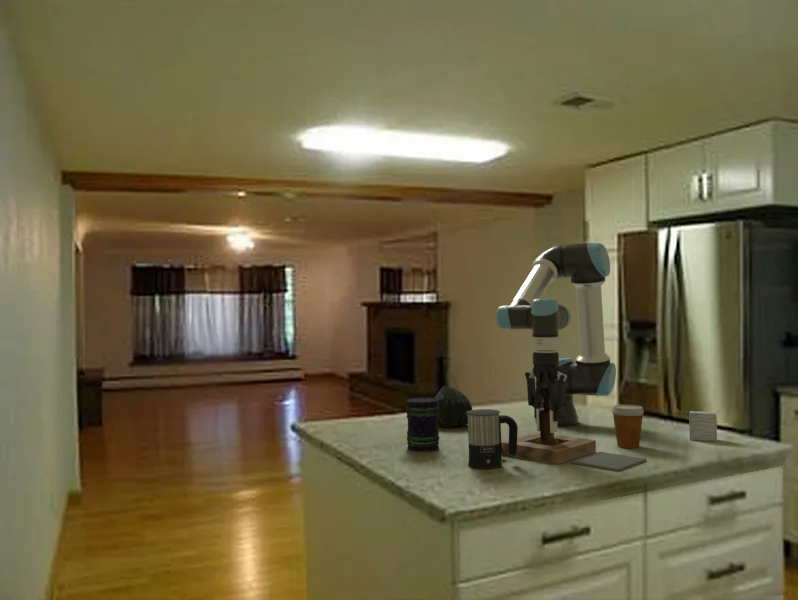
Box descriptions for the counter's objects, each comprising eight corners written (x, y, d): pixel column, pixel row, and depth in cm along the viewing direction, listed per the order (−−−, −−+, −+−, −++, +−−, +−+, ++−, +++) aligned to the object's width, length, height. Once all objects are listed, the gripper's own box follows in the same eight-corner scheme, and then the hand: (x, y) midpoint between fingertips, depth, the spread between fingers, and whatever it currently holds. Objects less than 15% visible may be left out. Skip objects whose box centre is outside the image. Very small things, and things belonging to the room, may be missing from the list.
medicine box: (717, 439, 223) (716, 412, 223) (717, 442, 219) (716, 414, 219) (690, 437, 226) (689, 410, 226) (689, 440, 222) (688, 412, 222)
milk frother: (477, 471, 187) (476, 415, 187) (450, 459, 201) (449, 407, 201) (523, 465, 192) (522, 410, 192) (493, 454, 207) (493, 403, 207)
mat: (570, 463, 194) (570, 461, 194) (600, 453, 205) (600, 451, 205) (618, 471, 184) (618, 469, 184) (646, 460, 195) (646, 458, 195)
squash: (478, 414, 246) (469, 379, 256) (436, 417, 243) (428, 382, 253) (471, 435, 256) (463, 401, 266) (431, 439, 254) (424, 404, 264)
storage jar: (433, 452, 210) (432, 402, 210) (402, 451, 213) (401, 401, 213) (443, 446, 219) (442, 398, 219) (413, 444, 223) (412, 397, 223)
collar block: (499, 453, 207) (499, 441, 207) (537, 443, 221) (537, 432, 221) (558, 464, 193) (558, 451, 193) (595, 452, 207) (595, 440, 207)
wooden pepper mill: (557, 446, 210) (556, 385, 210) (560, 451, 204) (559, 388, 203) (534, 446, 211) (533, 386, 211) (536, 451, 204) (535, 388, 204)
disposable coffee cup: (644, 444, 218) (644, 405, 218) (644, 450, 209) (644, 409, 209) (612, 442, 221) (611, 404, 221) (611, 448, 212) (610, 408, 212)
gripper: (514, 351, 210) (515, 429, 210) (563, 353, 198) (565, 437, 198) (528, 349, 216) (530, 426, 216) (578, 351, 204) (579, 433, 204)
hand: (547, 431), depth 207 cm, fingers closed on wooden pepper mill, 4 cm apart
